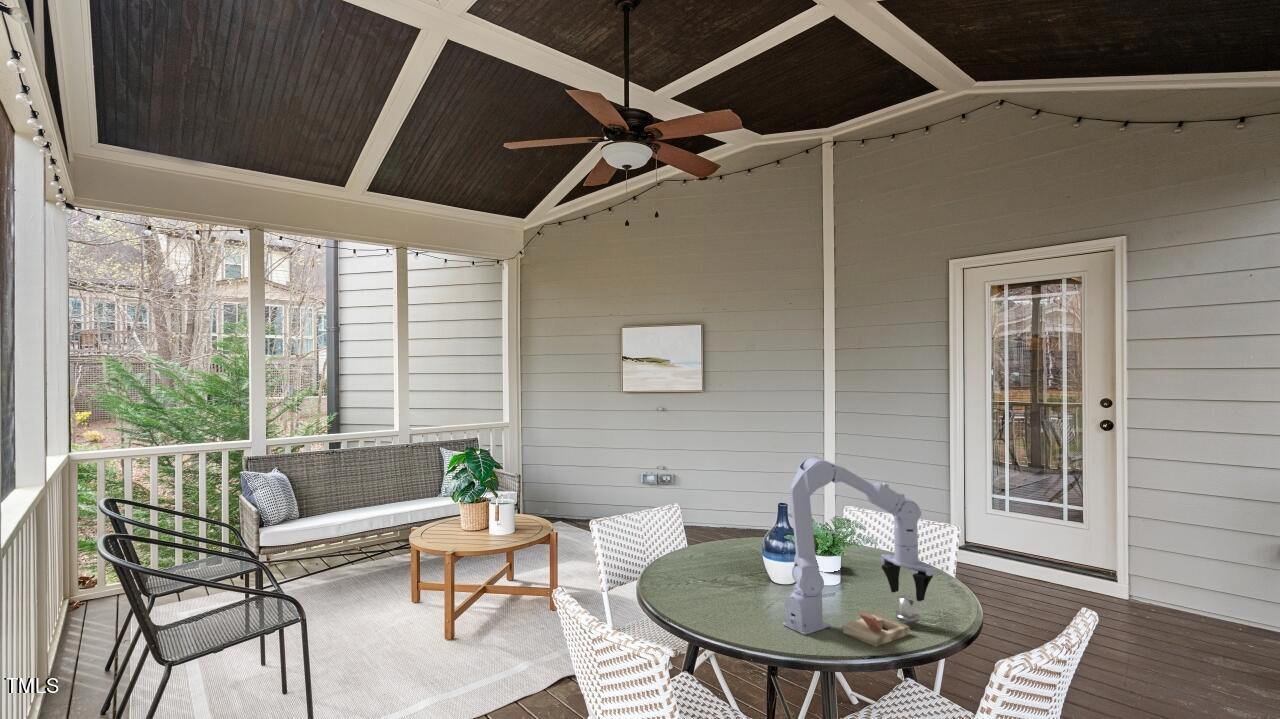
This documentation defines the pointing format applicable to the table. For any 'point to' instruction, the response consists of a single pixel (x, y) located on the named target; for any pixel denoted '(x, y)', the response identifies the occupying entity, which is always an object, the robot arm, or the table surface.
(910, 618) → the silver knob
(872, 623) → the latch tab
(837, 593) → the table surface
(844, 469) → the robot arm
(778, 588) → the table surface
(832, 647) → the table surface
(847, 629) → the hitch block
